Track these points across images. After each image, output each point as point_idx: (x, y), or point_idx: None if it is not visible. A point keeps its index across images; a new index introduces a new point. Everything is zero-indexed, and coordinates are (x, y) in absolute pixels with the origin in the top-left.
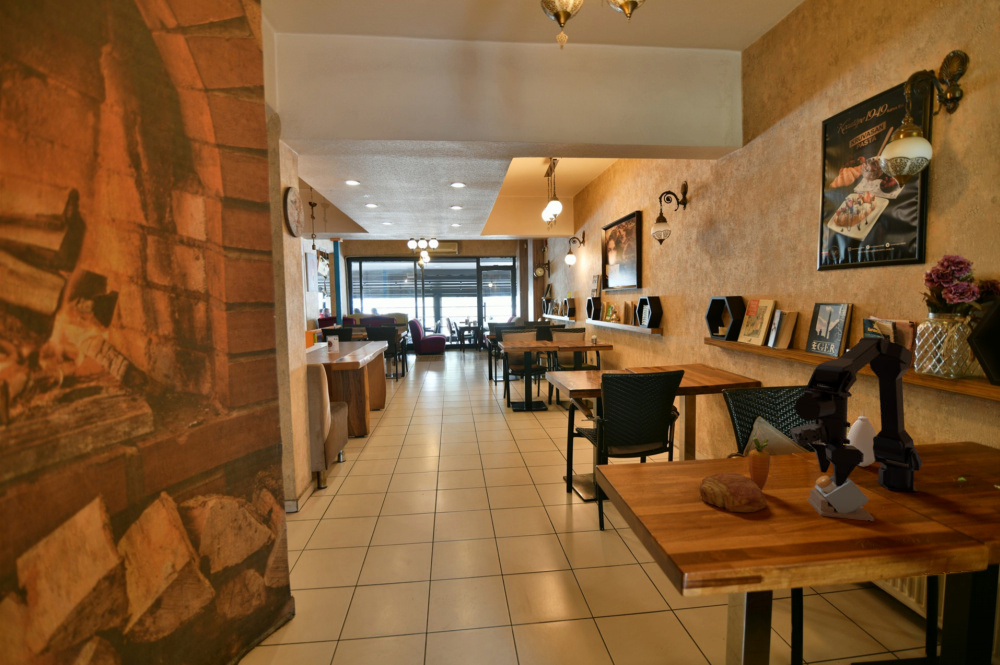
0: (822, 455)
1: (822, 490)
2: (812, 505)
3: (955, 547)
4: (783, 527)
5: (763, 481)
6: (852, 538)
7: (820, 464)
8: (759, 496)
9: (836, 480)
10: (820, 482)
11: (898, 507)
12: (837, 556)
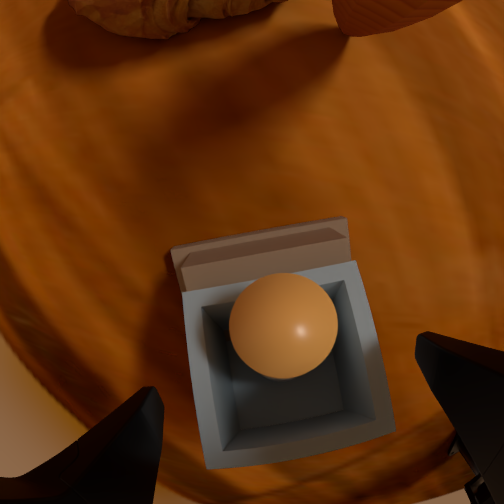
0: (498, 409)
1: None
2: (277, 227)
3: None
4: (19, 119)
5: (344, 12)
6: (42, 309)
7: (450, 357)
8: (83, 3)
9: (119, 409)
10: (260, 305)
11: (362, 446)
12: None
